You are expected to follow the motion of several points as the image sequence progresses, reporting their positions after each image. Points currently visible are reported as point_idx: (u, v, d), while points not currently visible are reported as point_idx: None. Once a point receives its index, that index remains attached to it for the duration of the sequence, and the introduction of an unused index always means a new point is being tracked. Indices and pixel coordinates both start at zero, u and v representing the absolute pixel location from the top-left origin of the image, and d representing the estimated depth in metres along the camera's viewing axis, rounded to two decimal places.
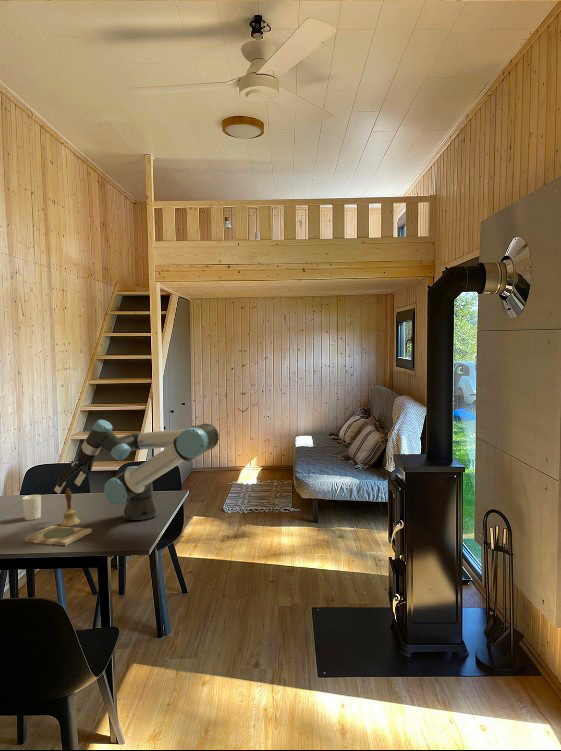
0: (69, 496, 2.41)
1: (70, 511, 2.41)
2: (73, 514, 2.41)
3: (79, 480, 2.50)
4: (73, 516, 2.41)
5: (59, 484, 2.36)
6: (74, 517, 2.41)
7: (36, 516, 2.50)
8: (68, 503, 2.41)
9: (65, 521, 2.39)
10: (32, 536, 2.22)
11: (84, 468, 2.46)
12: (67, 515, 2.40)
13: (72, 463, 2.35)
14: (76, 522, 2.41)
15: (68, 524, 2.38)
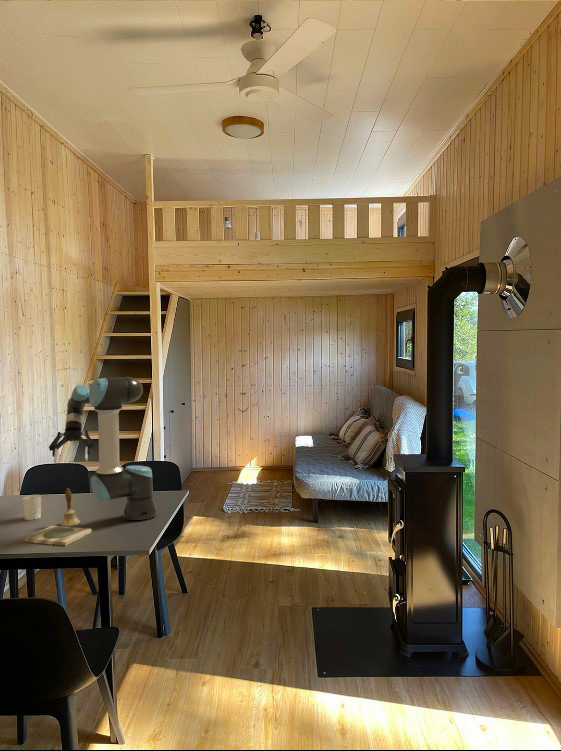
0: (69, 496, 2.41)
1: (70, 511, 2.41)
2: (73, 514, 2.41)
3: None
4: (73, 516, 2.41)
5: None
6: (74, 517, 2.41)
7: (36, 516, 2.50)
8: (68, 503, 2.41)
9: (65, 521, 2.39)
10: (32, 536, 2.22)
11: (81, 441, 2.61)
12: (67, 515, 2.40)
13: None
14: (76, 522, 2.41)
15: (68, 524, 2.38)
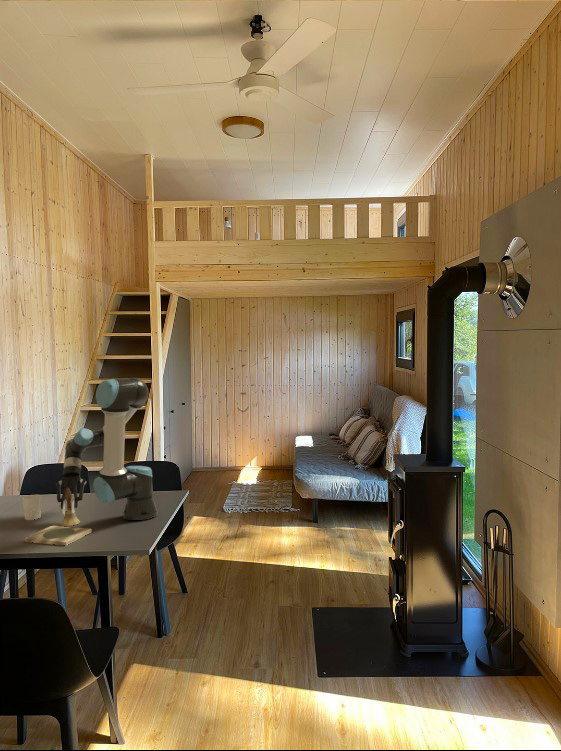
0: (69, 496, 2.41)
1: (70, 511, 2.41)
2: None
3: (72, 508, 2.40)
4: (73, 516, 2.41)
5: None
6: (74, 517, 2.41)
7: (36, 516, 2.50)
8: (68, 503, 2.41)
9: (65, 521, 2.39)
10: (32, 536, 2.22)
11: None
12: (67, 515, 2.40)
13: (56, 484, 2.47)
14: (76, 522, 2.41)
15: (68, 524, 2.38)
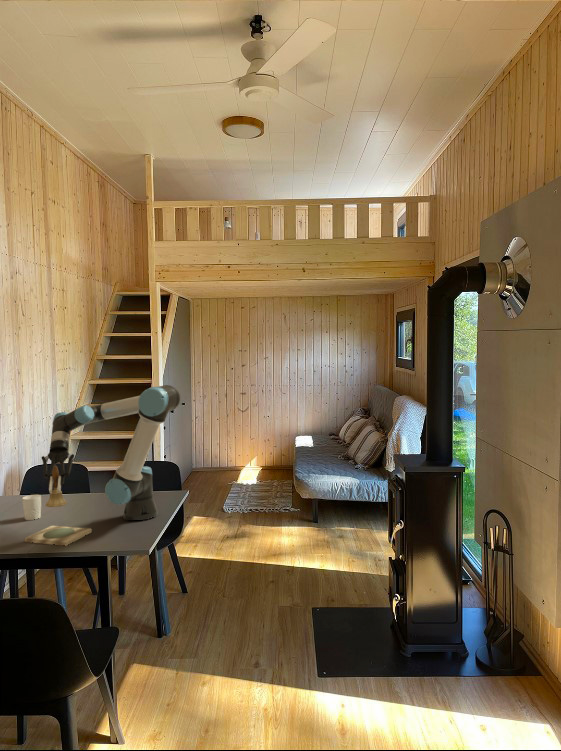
0: (56, 474, 2.23)
1: (57, 491, 2.23)
2: (60, 494, 2.23)
3: None
4: (59, 497, 2.23)
5: None
6: (61, 497, 2.23)
7: (36, 516, 2.50)
8: (55, 482, 2.23)
9: (50, 501, 2.22)
10: (32, 536, 2.22)
11: None
12: (53, 495, 2.22)
13: (42, 460, 2.29)
14: (62, 503, 2.23)
15: (54, 504, 2.21)
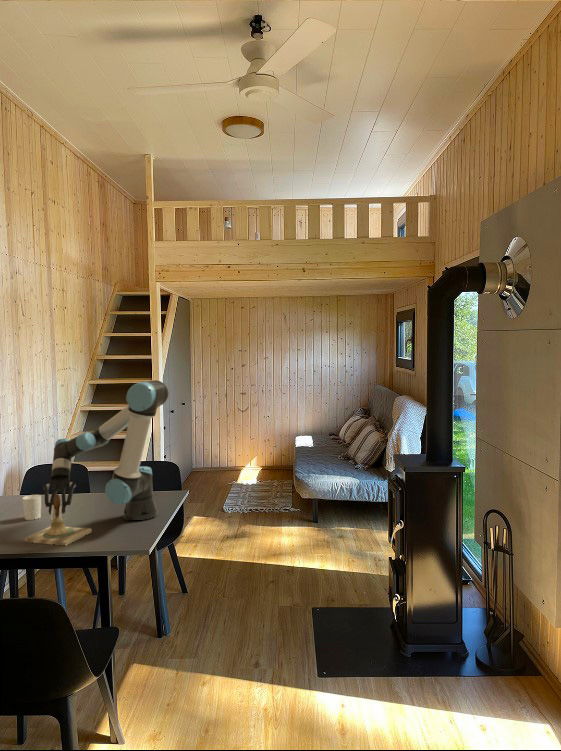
0: (58, 503, 2.23)
1: (58, 519, 2.23)
2: (61, 522, 2.24)
3: None
4: (61, 525, 2.23)
5: None
6: (62, 526, 2.24)
7: (36, 516, 2.50)
8: (56, 510, 2.24)
9: (52, 529, 2.22)
10: (32, 536, 2.22)
11: None
12: (55, 524, 2.22)
13: None
14: (64, 531, 2.23)
15: (55, 533, 2.21)
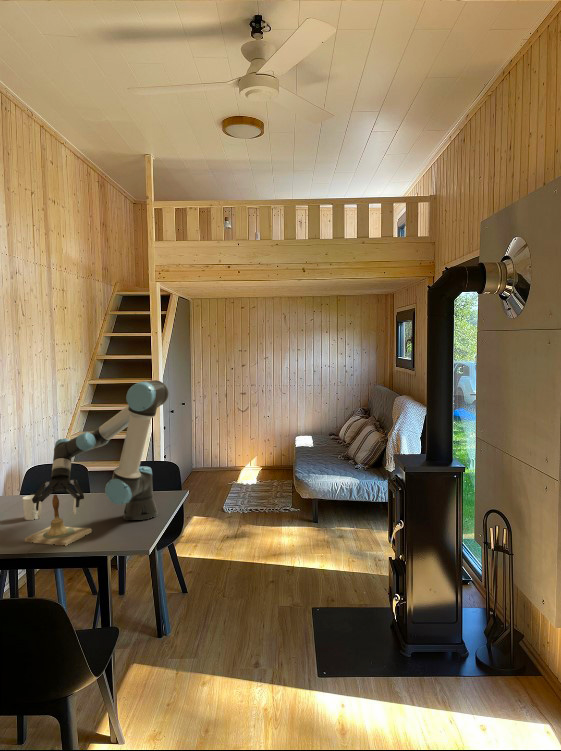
0: (56, 503, 2.23)
1: (57, 519, 2.23)
2: (61, 523, 2.24)
3: None
4: (60, 525, 2.23)
5: None
6: (62, 526, 2.24)
7: (36, 516, 2.50)
8: (55, 511, 2.24)
9: (52, 530, 2.22)
10: (32, 536, 2.22)
11: (69, 491, 2.29)
12: (54, 524, 2.22)
13: None
14: (64, 531, 2.23)
15: (55, 534, 2.21)
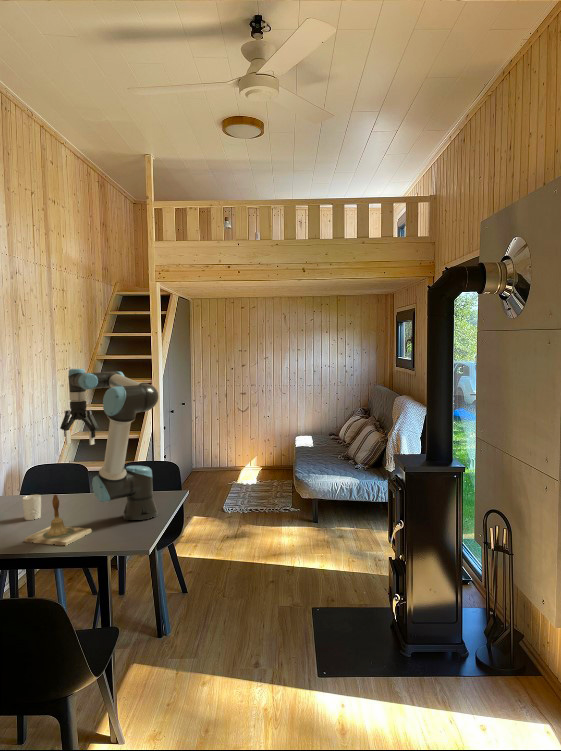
0: (56, 503, 2.23)
1: (57, 519, 2.23)
2: (61, 523, 2.24)
3: None
4: (60, 525, 2.23)
5: None
6: (62, 526, 2.24)
7: (36, 516, 2.50)
8: (55, 511, 2.24)
9: (52, 530, 2.22)
10: (32, 536, 2.22)
11: None
12: (54, 524, 2.22)
13: None
14: (64, 531, 2.23)
15: (55, 533, 2.21)
